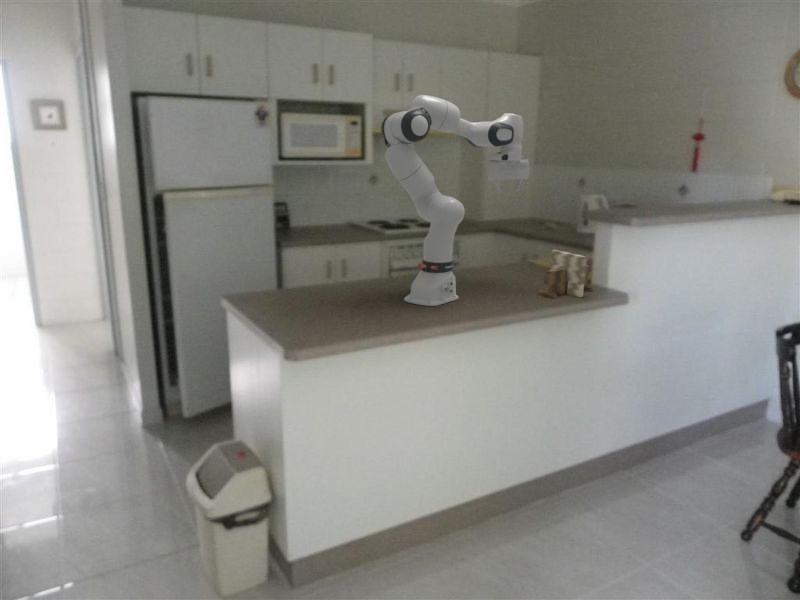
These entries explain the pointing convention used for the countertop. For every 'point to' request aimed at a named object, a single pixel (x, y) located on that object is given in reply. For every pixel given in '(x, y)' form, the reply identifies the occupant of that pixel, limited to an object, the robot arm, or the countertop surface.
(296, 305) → the countertop surface
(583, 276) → the birch plate
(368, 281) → the countertop surface
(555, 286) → the wooden block row
